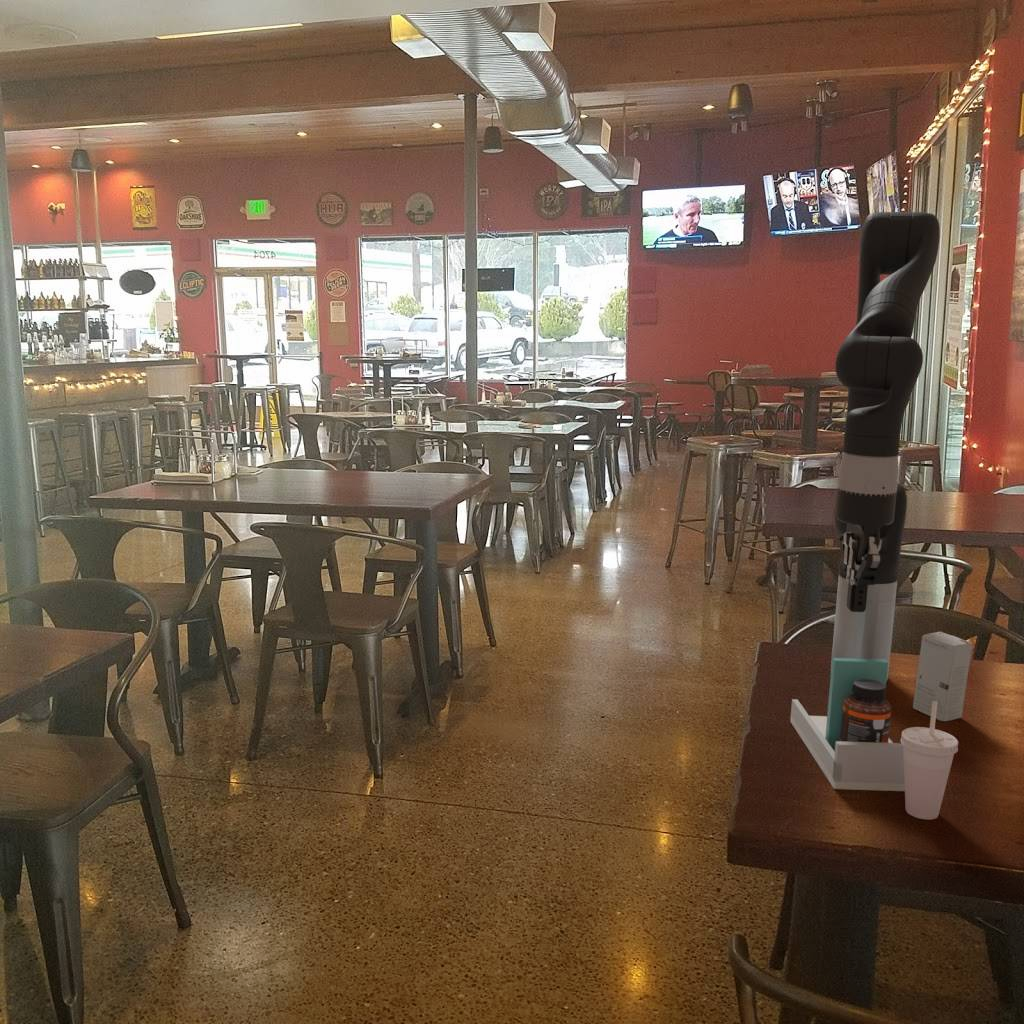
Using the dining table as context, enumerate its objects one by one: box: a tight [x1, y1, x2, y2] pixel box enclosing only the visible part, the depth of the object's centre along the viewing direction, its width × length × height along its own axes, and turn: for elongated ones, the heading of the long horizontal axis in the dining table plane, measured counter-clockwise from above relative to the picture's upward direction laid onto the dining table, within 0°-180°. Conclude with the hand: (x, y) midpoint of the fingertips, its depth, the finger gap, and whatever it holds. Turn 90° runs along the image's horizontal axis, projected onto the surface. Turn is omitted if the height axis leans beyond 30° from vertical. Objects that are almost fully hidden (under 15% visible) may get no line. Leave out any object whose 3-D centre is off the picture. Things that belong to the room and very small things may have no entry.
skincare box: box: [912, 631, 973, 722], centre depth 151 cm, size 6×4×12 cm
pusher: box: [825, 657, 888, 752], centre depth 133 cm, size 1×7×13 cm, turn 89°
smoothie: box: [900, 701, 959, 821], centre depth 119 cm, size 6×6×14 cm
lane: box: [790, 698, 905, 792], centre depth 136 cm, size 22×10×6 cm, turn 179°
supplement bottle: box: [840, 679, 892, 743], centre depth 130 cm, size 6×6×11 cm
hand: (855, 610), depth 137 cm, fingers closed
